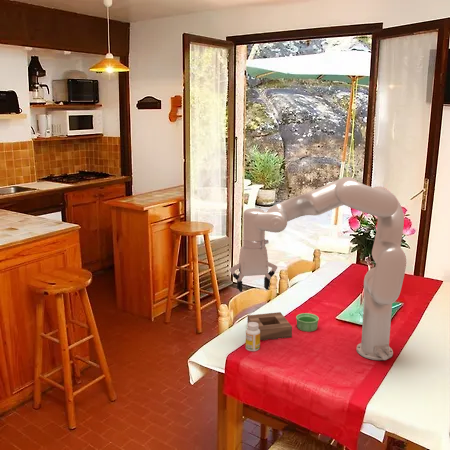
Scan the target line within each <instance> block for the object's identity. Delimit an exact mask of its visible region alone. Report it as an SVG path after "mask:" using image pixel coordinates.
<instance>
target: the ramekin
mask: <svg viewBox="0 0 450 450" xmlns="http://www.w3.org/2000/svg"><path fill="white" fill-rule="evenodd" d="M295 320H296V327H297V329H298V330H299V331H302V332H310V333H311V332H315V331H316V330H317V329H318V324H319V320H320V317H319V316H318V315H316V314H315V313H309V312H305V313H304V312H302V313H299V314H297V315H296V316H295Z"/></svg>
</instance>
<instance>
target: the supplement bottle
mask: <svg viewBox="0 0 450 450" xmlns="http://www.w3.org/2000/svg"><path fill="white" fill-rule="evenodd" d="M258 328H259V324H258V323H257V322H249V323H248V326H247V328H246V330H245V350H247V351H249V352H257V351H259V350H261V349H260V348H261V341H260V330H259V329H258Z"/></svg>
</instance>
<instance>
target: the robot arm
mask: <svg viewBox="0 0 450 450" xmlns="http://www.w3.org/2000/svg"><path fill="white" fill-rule="evenodd" d="M343 205H344V206H345V207H348V208H350V209H353V210H356V211H360V212H362V213H366V214H368V215H371V216H375V217H376V218H377V224H376V233H375V237H374V240H373V245H372V249H371V256H372V257H371V258H372V259H373V261H374V262H375V266H374V267H372V268H370V269H369V270H368V271H367V272H366V274H365V275H364V279H363V313H362V327H361V328H362V329H361V342H360V343H358V344H357V345H356V352H357V354H358V355H359V356H361V357H363V358H365V359H368V360H373V361H387V360H390V359H391V358H393V355H394V351H393V349H392V347H390V337H391V324H392V323H391V321H392V310H393V303H395V302H396V301H397V300H398V298H399V297H400V294H401V291H402V287H403V284H404V283H403V282H404V278H405V273H406V268H407V256H406V253H405V252H404V250H403V249H402V248H401V247H402V240H403V233H404V225H405V218H404V215H405V214H404V211H403V208H402V204H401V203H400V201H399V200H398V198H397V197H396V195H395V194H394V193H392V192H391V191H390V190H389V189H387V188H385V187H384V186H383V187H382V186H374V187H373V186H370V185H366V184H364V183H362V182H359V181H358V180H357V179H355V178H353V177H352V176H351V177H350V176H344V177H342V178H341V177H340V178H339V179H336V180H333V181H331V182H329V183H327V184H325V185H323V186H321V187H317V188H316V189H314V190H312V191H309V192H304V193H303V194H300V195H297V196H294V197H291V198H288V199H286V200H283V201H281V202H279V203H277V204H274V205H273V206H271V207H269V209H267V210H266V211H264V209H261V208H247V209H245V210H244V212H243V217H242V220H243V224H242V226H243V231H242V232H243V233H242V235H243V237H242V240H243V241H242V243H243V244H242V246H241V247H240V249H239V256H238V257H239V258H238V264H235V265H233V266H232V267H230V268H229V271H230V273H231V275H232V277H233V278H234V279H235V280H236V289H237V290H238V291H239V293H242V292H243V281H242V280H243V278H244V277H253V276H264V280H263V283H264V284H263V285H264V286H263V288H264V290H265V291H268V290H269V288H270V287H271V285H270V284H271V279H272V277H273V276H274V275H275V273H276V271H277V269H278V266H277V265H276V264H273V263H271V262H269V259H268V257H269V256H268V249H267V247H266V245H268V244H269V239H266V232H270V233H276V234H277V233H281V232H283V231H284V230H285V229H286V228H287V226H288V222H290V221H293V220H294V219H298V218H302V217H305V216H321V215H322V214H325V213H327V212H329V211H332V210H334V209H336V208H339V207H341V206H343ZM269 268H271V269H270V271H269ZM237 270H238V272H239V273H238V274H237V273H236V271H237Z"/></svg>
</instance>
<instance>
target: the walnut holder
mask: <svg viewBox="0 0 450 450" xmlns="http://www.w3.org/2000/svg"><path fill="white" fill-rule="evenodd" d="M249 322H257V323H258V324H259V328H258V329H259V330H260V340H263V341H269V340H268V339H272V340H279V339H278V338H281V339H289V338H292V337H293V325H291V324H290V322H289V321H288V320H287V318H286V317H285V316H284V315H283V314H282V312H280V311H279V312H270V313H260V314H259V313H258V314H250V315H247V325H246V326H247V327H248V323H249Z"/></svg>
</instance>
